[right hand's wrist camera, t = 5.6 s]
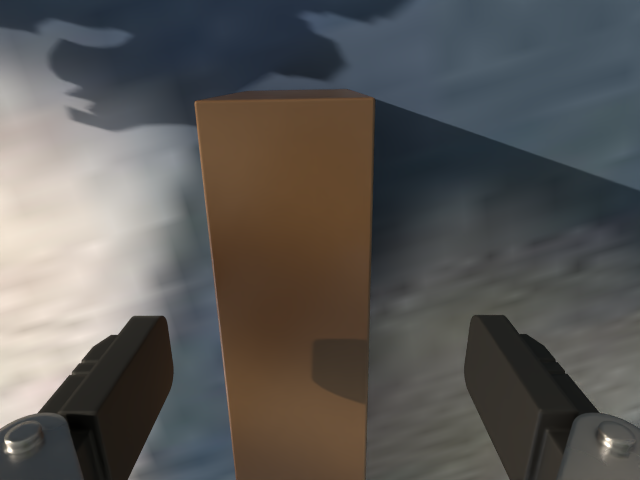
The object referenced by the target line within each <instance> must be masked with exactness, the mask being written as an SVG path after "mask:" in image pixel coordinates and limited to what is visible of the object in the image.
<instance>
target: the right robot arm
mask: <svg viewBox="0 0 640 480" xmlns="http://www.w3.org/2000/svg"><path fill="white" fill-rule="evenodd" d="M464 374H465V382H466V386H467V389H468V391H469V393H470V396H471V398H472V400H473V402H474V404H475V406H476V408H477V410H478V413H479V415H480V417H481V419H482V421H483V423H484V425H485V427H486V430H487V432H488V434H489V436H490V438H491V440H492V442H493V444H494V447H495V449H496V451H497V453H498V455H499V457H500V459H501V462H502V464H503V466H504V468H505V470H506V472H507V474H508V476H509V479H510V480H640V429H639V428H638V427H636V426H634V425H633V424H631V423H629V422H627V421H625V420H623V419H620V418H618V417H615V416H611V415H607V414H602V413H599V412H598V410H597V409H596V408H595V407H594V406H593V404H592V403H591V402H590V401H589V400H588V398H587V397H586V396H585V395H584V394H583V392H582V391H581V390H580V389H579V387H578V386H577V385H576V384H575V383H574V381H573V380H572V379H571V378H570V377H569V375H568V374H565V371H564V369H563V368H562V367H561V366H560V365H559V363H558V362H556V361H555V358H554V357H553V356H552V355H551V354H550V352H549V351H548V350H547V349H546V348H545V346H543V345H542V344H540V343H539V342H537V341H536V340H534V339H533V338H531V337H530V336H528V335H527V334H519V333H518V332H517V331H516V329H515V328H514V327H513V325H512V324H511V323H510V321H509V320H508V319H507V318H506V317H505V316H504V315H474V316H473V317H472V319H471V322H470V329H469V336H468V343H467V351H466V358H465V366H464ZM172 381H173V360H172V353H171V346H170V339H169V332H168V325H167V321H166V318H165V317H164V316H133V317H132V318H131V319H130V320H129V321H128V323H127V324H126V325H125V327H124V328H123V329H122V330H121V332H120V333H119V334H118V335H110V336H109V337H107V338H106V339H104V340H103V341H101V342H100V343H98V344H97V345H95V346H94V347H93V348H92V349H91V350H90V351H89V352H88V354H87V355H86V356H85V357H84V358H83V360H82V363H79V364H78V366H77V367H76V368H75V369H74V370H73V371H72V375H69V376H68V377H67V379H66V380H65V381H64V382H63V383H62V385H61V386H60V387H59V388H58V389H57V391H56V392H55V393H54V394H53V395H52V397H51V398H50V399H49V400H48V401H47V403H46V404H45V405H44V406H43V407H42V409H41V410H40V411H39V412H38V413H37V414H33V415H28V416H25V417H22V418H20V419H17V420H15V421H13V422H11V423H9V424H7V425H6V426H4V427H2V428H1V429H0V480H128V478H129V476H130V474H131V472H132V469H133V467H134V465H135V463H136V461H137V459H138V457H139V455H140V453H141V451H142V448H143V446H144V444H145V442H146V440H147V438H148V436H149V434H150V432H151V429H152V427H153V425H154V423H155V421H156V419H157V417H158V415H159V413H160V411H161V408H162V406H163V404H164V402H165V400H166V398H167V396H168V394H169V392H170V389H171V386H172Z"/></svg>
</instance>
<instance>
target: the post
mask: <svg viewBox="0 0 640 480" xmlns="http://www.w3.org/2000/svg"><path fill="white" fill-rule="evenodd" d="M195 113H196V122H197V131H198V140H199V149H200V158H201V167H202V176H203V185H204V194H205V203H206V212H207V221H208V230H209V240H210V249H211V258H212V267H213V276H214V285H215V294H216V303H217V312H218V321H219V330H220V339H221V348H222V357H223V366H224V375H225V384H226V393H227V402H228V411H229V420H230V429H231V438H232V447H233V456H234V465H235V474H236V480H366V441H367V402H368V363H369V324H370V286H371V247H372V208H373V169H374V131H375V98H373V97H370V96H367V95H364V94H361V93H358V92H355V91H352V90H348V89H326V90H270V91H244V92H239V93H234V94H228V95H223V96H218V97H213V98H207V99H202V100H197V101H195Z"/></svg>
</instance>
